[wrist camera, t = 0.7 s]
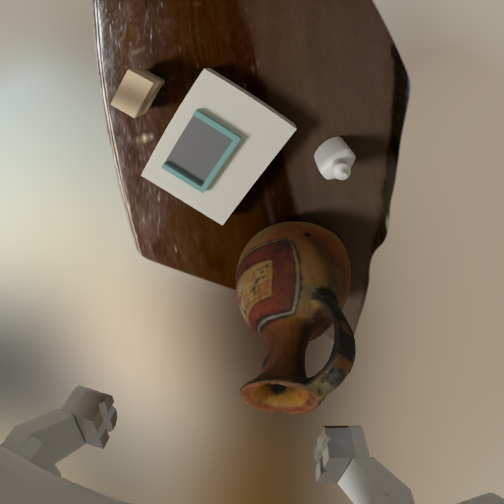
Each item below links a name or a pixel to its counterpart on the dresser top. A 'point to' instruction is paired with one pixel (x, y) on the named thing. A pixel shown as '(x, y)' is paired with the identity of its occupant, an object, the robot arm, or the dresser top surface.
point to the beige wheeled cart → (137, 92)
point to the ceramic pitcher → (295, 312)
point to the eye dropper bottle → (334, 159)
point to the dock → (217, 146)
